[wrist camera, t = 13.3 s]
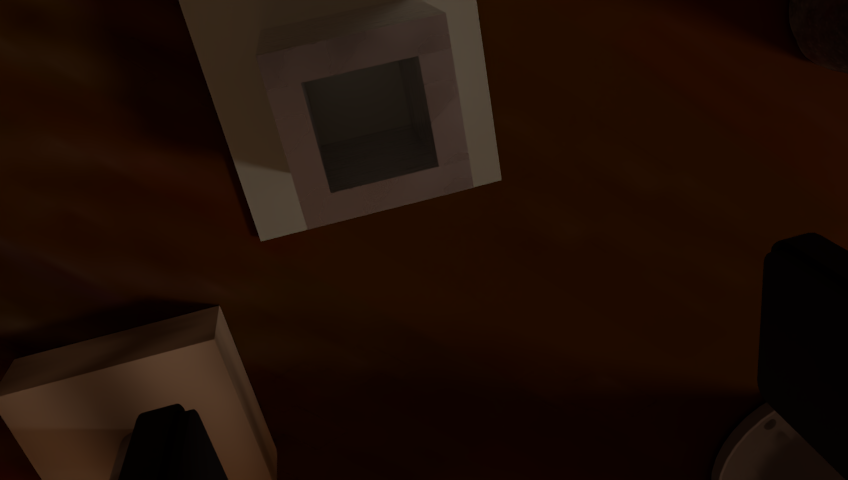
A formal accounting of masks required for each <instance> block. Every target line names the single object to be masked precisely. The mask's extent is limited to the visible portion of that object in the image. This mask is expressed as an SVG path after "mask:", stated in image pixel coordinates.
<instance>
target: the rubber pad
mask: <svg viewBox="0 0 848 480" xmlns="http://www.w3.org/2000/svg"><path fill="white" fill-rule="evenodd" d="M389 1H393V0H179V3H180V6H181V9H182V12H183V15H184V18H185V21H186V24H187V27H188V30H189V33H190V35H191V38H192V41H193V44H194V47H195V50H196V53H197V56H198V59H199V62H200V65H201V68H202V71H203V74H204V76H205V79H206V82H207V85H208V88H209V91H210V94H211V97H212V100H213V103H214V106H215V109H216V112H217V114H218V117H219V120H220V123H221V126H222V129H223V132H224V135H225V138H226V141H227V144H228V147H229V150H230V152H231V155H232V158H233V161H234V164H235V167H236V170H237V173H238V176H239V179H240V182H241V185H242V188H243V190H244V193H245V196H246V199H247V202H248V205H249V208H250V211H251V214H252V217H253V220H254V223H255V226H256V228H257V231H258V234H259V237H260V240H261V241H264V240H268V239H272V238H276V237H280V236H284V235H288V234H292V233H296V232H300V231H303V230H307V226H306V223H305V219H304V216H303V213H302V209H301V206H300V203H299V199H298V196H297V193H296V189H295V186H294V183H293V179H292V176H291V173H290V169H289V166H288V162H287V159H286V156H285V152H284V149H283V146H282V142H281V139H280V136H279V132H278V129H277V126H276V122H275V119H274V116H273V112H272V109H271V106H270V102H269V99H268V96H267V92H266V89H265V85H264V82H263V79H262V75H261V72H260V69H259V65H258V62H257V59H256V51H257V45H258V40H259V34H260V30H263V29H267V28H272V27H276V26H281V25H285V24H290V23H294V22H299V21H303V20H308V19H312V18H317V17H321V16H326V15H330V14H335V13H339V12H344V11H348V10H353V9H357V8H362V7H366V6H371V5H375V4H380V3H384V2H389ZM423 1H425V2H426V3H428V4H430V5H432V6H434V7H436V8H438V9H439V10H441V11H443V12H445V13H446V17H447V23H448V29H449V35H450V42H451V48H452V54H453V60H454V66H455V73H456V79H457V85H458V91H459V98H460V104H461V110H462V116H463V122H464V129H465V135H466V141H467V147H468V154H469V160H470V166H471V172H472V178H473V185H474V187H476V186H480V185H484V184H488V183H492V182H496V181H500V180H501V173H500V166H499V158H498V151H497V144H496V137H495V130H494V123H493V116H492V109H491V102H490V95H489V88H488V81H487V73H486V66H485V59H484V52H483V45H482V38H481V31H480V24H479V17H478V10H477V3H476V0H423ZM304 83H305V86H306V90H307V94H308V97H309V101H310V105H311V109H312V112H313V116H314V120H315V123H316V127H317V131H318V134H319V138H320V142H321V145H325V144H329V143H333V142H337V141H341V140H346V139H350V138H354V137H358V136H362V135H366V134H370V133H375V132H379V131H383V130H387V129H391V128H395V127H399V126H404V125H408V124H411V122H410V117H409V112H408V107H407V102H406V97H405V92H404V87H403V82H402V77H401V72H400V67H399V62H398V61H394V62H389V63H385V64H381V65H376V66H372V67H368V68H363V69H359V70H355V71H350V72H346V73H342V74H337V75H333V76H329V77H324V78H320V79H316V80H311V81H307V82H304Z"/></svg>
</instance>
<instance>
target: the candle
mask: <svg viewBox="0 0 848 480" xmlns="http://www.w3.org/2000/svg"><path fill="white" fill-rule="evenodd" d="M789 23H790V26H791V29H792V32H793V35H794V37H795V38H796V40H797V44H798V46H799V48H800V50H801V52H802V53H803V54H804V55H805V57H806V58H808V59H809V60H811V61H812V62H813V63H815V64H818V65H821V66H823V67H826V68H828V69H831V70H835V71H839V72H844V73H848V0H790V2H789Z"/></svg>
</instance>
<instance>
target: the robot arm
mask: <svg viewBox="0 0 848 480" xmlns="http://www.w3.org/2000/svg"><path fill="white" fill-rule="evenodd" d="M757 381H758V387H759V390H760V393H761V395H762V396H763V398H764V400H765V401H766V403H764V404H763V405H761V406H759V407H758V408H757V409H756V410H754V411H753V412H752V413H751V414H749V415H748V416H747V417H746V418H745V419H744V420H743V421H742V422H741V423H740V424H739V425H738V426H737V427H736V428H735V429H734V430H733V431H732V433H731V434H730V435H729V437H728V438H727V439H726V441H725V442H724V443H723V445H722V447H721V449H720V451H719V453H718V455H717V457H716V460H715V463H714V466H713V469H712V474H711V480H848V251H847V250H845V249H844V248H842V247H840V246H838V245H837V244H835V243H833V242H831V241H830V240H828V239H826V238H824V237H823V236H821V235H819V234H816V233H806V234H803V235H799V236H795V237H792V238H788V239H784V240H781V241H778V242H776V243H775V244H774V245H773V247H772V250H771V252H770V253H768V254H767V255H766V257H765V260H764V270H763V288H762V306H761V324H760V342H759V360H758V377H757ZM118 480H228V478H227V476H226V474H225V471H224V469H223V467H222V465H221V462H220V460H219V458H218V456H217V454H216V451H215V449H214V447H213V445H212V442H211V440H210V438H209V436H208V433H207V431H206V429H205V427H204V425H203V422H202V420H201V418H200V416H199V414H198V412H197V411H196V410H195V409H191V410H188V411H185V409H184V408H183V407H182V406H181V404H173V405H169V406H166V407H162V408H158V409H155V410H151V411H147V412H143V413H141V414H140V415H139V416H138V418H137V420H136V423H135V426H134V429H133V432H132V436H131V439H130V442H129V446H128V449H127V452H126V455H125V459H124V462H123V465H122V468H121V472H120V475H119V478H118Z"/></svg>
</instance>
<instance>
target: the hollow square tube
mask: <svg viewBox="0 0 848 480" xmlns="http://www.w3.org/2000/svg"><path fill="white" fill-rule="evenodd" d="M256 59H257V62H258V65H259V69H260V72H261V75H262V79H263V82H264V85H265V89H266V92H267V96H268V99H269V102H270V106H271V109H272V112H273V116H274V119H275V122H276V126H277V129H278V132H279V136H280V139H281V142H282V146H283V149H284V152H285V156H286V159H287V162H288V166H289V169H290V173H291V176H292V179H293V183H294V186H295V189H296V193H297V196H298V199H299V203H300V206H301V209H302V213H303V216H304V219H305V223H306V226H307V229H312V228H316V227H320V226H324V225H328V224H332V223H336V222H339V221H343V220H347V219H351V218H355V217H359V216H363V215H367V214H371V213H375V212H379V211H383V210H387V209H391V208H395V207H399V206H403V205H407V204H411V203H415V202H419V201H423V200H427V199H430V198H434V197H438V196H442V195H446V194H450V193H454V192H458V191H462V190H466V189H470V188H474V185H473V178H472V172H471V166H470V160H469V154H468V147H467V141H466V135H465V129H464V122H463V116H462V110H461V104H460V98H459V91H458V85H457V79H456V73H455V66H454V60H453V54H452V48H451V42H450V35H449V29H448V23H447V17H446V13H445V12H443V11H441V10H439V9H438V8H436V7H434V6H432V5H430V4H428V3H426V2H425V1H423V0H393V1H389V2H384V3H380V4H375V5H371V6H366V7H362V8H357V9H353V10H348V11H344V12H339V13H335V14H330V15H326V16H321V17H317V18H312V19H308V20H303V21H299V22H294V23H290V24H285V25H281V26H276V27H272V28H267V29H263V30H260V34H259V40H258V45H257V51H256ZM394 61H398V62H399V67H400V72H401V77H402V82H403V87H404V92H405V97H406V102H407V107H408V112H409V117H410V122H411V124H408V125H404V126H399V127H395V128H391V129H387V130H383V131H379V132H375V133H370V134H366V135H362V136H358V137H354V138H350V139H346V140H341V141H337V142H333V143H329V144H325V145H321V142H320V138H319V134H318V131H317V127H316V123H315V120H314V116H313V112H312V109H311V105H310V101H309V97H308V94H307V90H306V86H305V83H304V82H307V81H311V80H316V79H320V78H324V77H329V76H333V75H337V74H342V73H346V72H350V71H355V70H359V69H363V68H368V67H372V66H376V65H381V64H385V63H389V62H394Z"/></svg>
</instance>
